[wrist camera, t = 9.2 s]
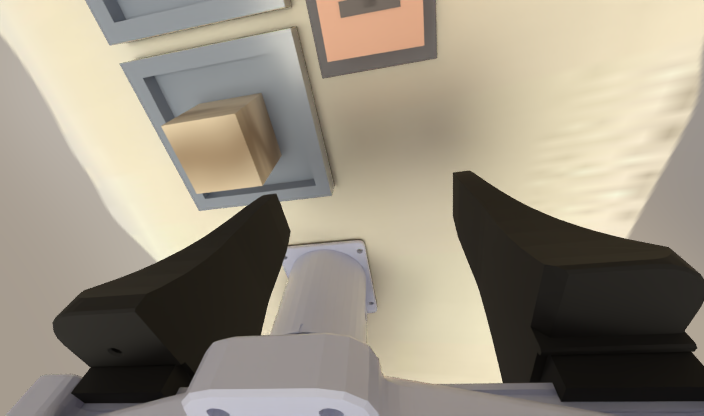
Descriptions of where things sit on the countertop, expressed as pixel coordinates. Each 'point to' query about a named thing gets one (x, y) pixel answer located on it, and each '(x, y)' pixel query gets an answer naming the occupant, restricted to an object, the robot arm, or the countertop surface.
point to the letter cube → (369, 26)
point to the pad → (381, 58)
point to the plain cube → (225, 143)
